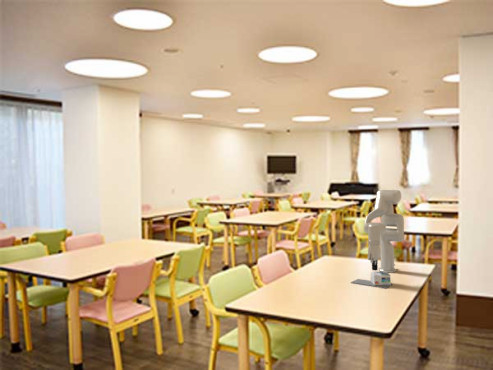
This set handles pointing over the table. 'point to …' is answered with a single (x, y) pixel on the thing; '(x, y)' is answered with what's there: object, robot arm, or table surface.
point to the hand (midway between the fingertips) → (374, 270)
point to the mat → (369, 283)
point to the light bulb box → (380, 278)
